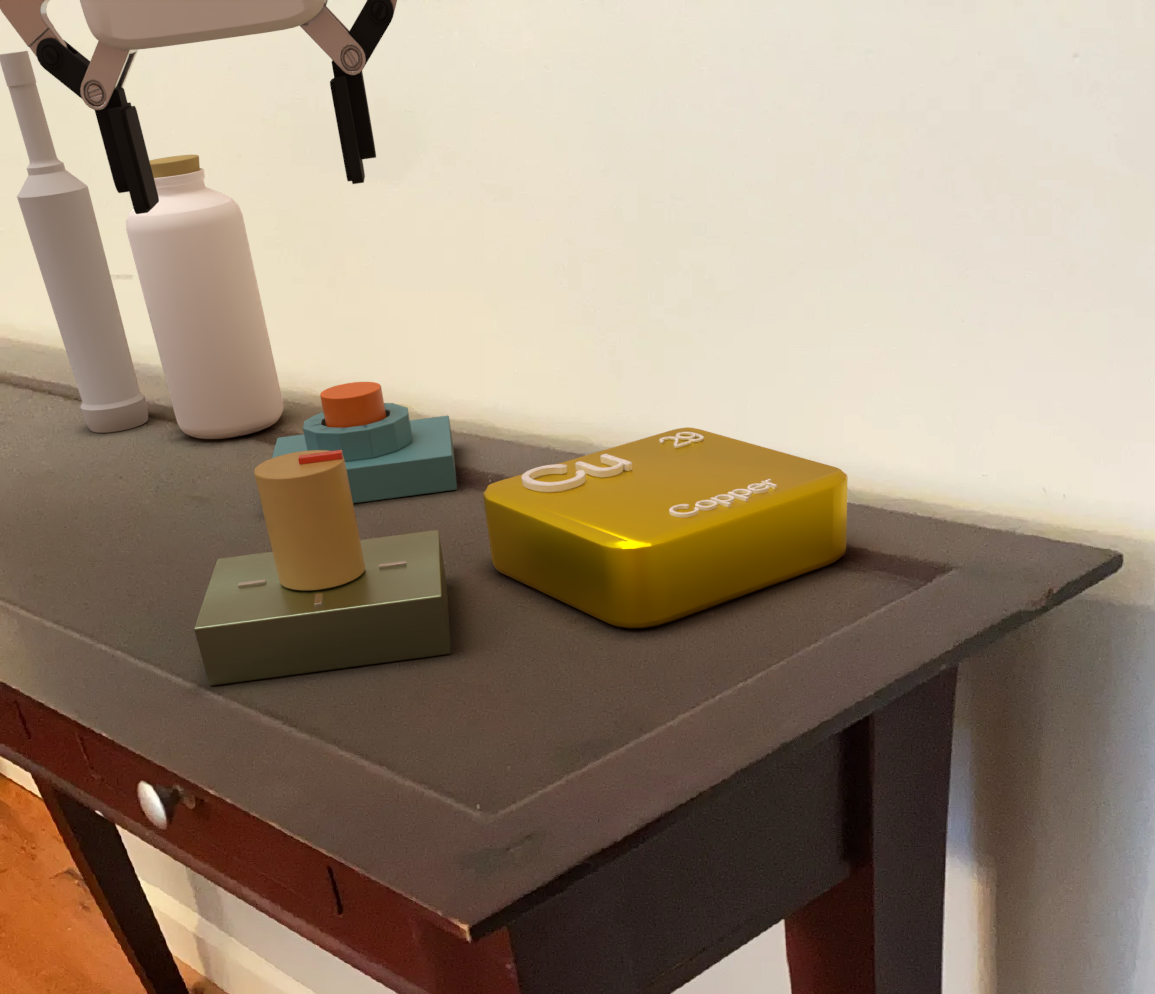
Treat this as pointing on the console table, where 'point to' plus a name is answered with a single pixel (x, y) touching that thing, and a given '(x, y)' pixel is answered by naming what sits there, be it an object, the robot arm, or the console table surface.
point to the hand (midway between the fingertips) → (252, 194)
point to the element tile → (666, 525)
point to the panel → (325, 614)
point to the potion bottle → (204, 305)
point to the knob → (310, 519)
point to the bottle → (73, 266)
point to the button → (353, 404)
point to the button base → (385, 453)
